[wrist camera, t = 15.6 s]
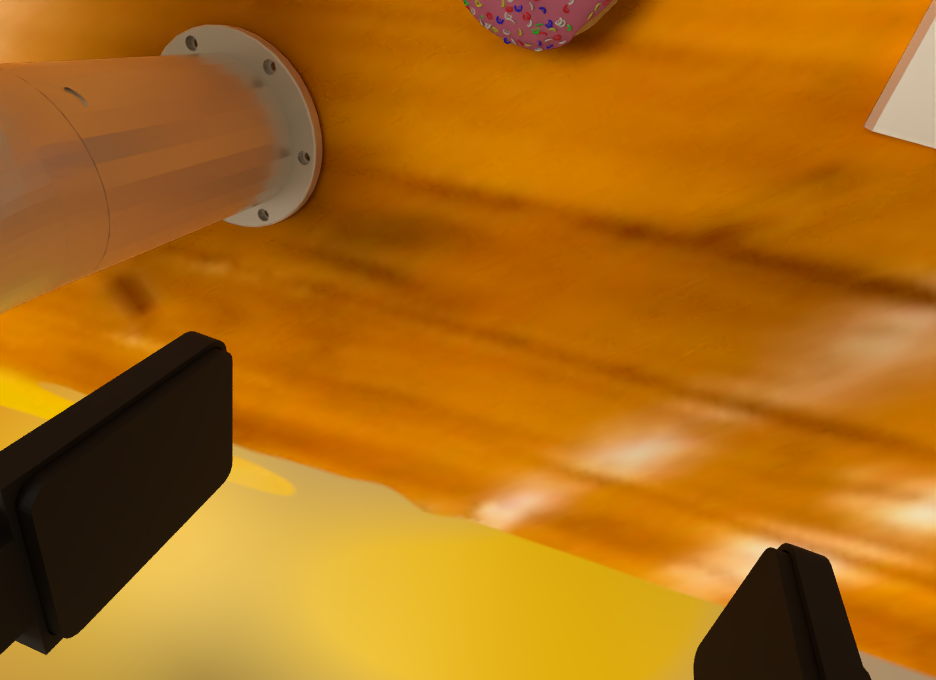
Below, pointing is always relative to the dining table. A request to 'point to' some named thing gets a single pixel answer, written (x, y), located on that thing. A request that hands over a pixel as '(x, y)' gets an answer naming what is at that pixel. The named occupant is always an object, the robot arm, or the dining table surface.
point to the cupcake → (538, 19)
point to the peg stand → (911, 90)
